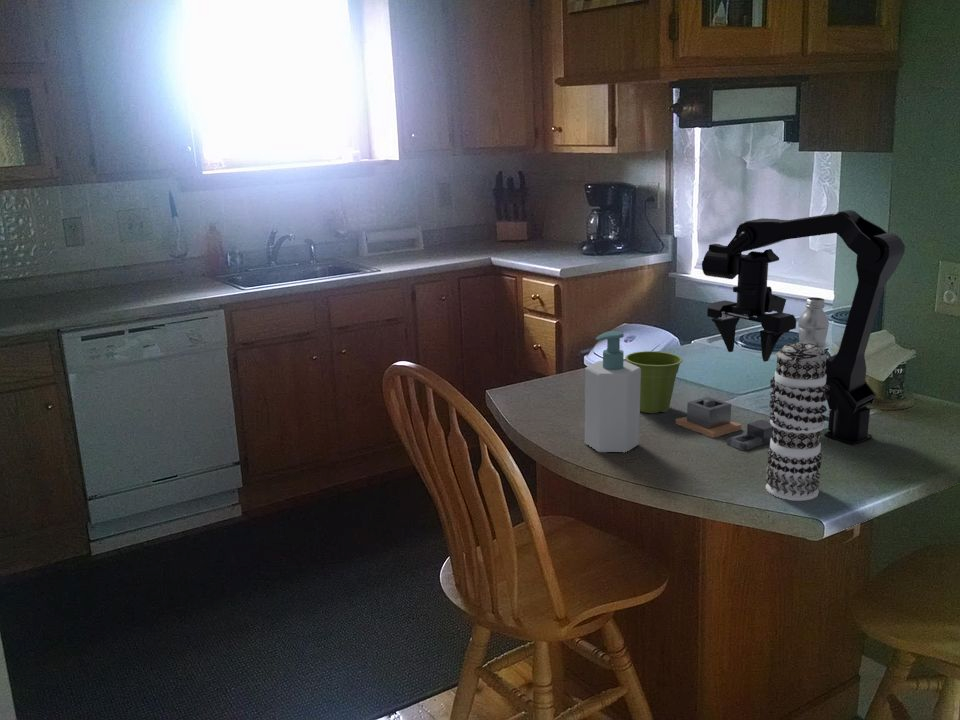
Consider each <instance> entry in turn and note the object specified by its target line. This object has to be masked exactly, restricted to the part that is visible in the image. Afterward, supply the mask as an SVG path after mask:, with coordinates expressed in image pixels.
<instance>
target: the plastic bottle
mask: <svg viewBox="0 0 960 720" xmlns="http://www.w3.org/2000/svg"><path fill="white" fill-rule="evenodd" d="M805 307H806V310H804V312H802V314H801V315H800V316H799V318H798V320H797V325H798V337H799V338H798V339H799V341H798V342H802V343H810V344H815V345H817V346H819V347H820V348H821V349H822V350H823V352H824V353H825V348H826V347H825V346H826V339H827V336H828V332H829V331H828V330H829V326H830V321H829V318H828V315H827V314H826V312H825V311H824V308H825V298H822V297H817V296H816V297H808V298H806V302H805Z"/></svg>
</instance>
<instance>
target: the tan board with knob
mask: <svg viewBox="0 0 960 720" xmlns="http://www.w3.org/2000/svg"><path fill="white" fill-rule="evenodd" d="M704 406H706V407H709V408H711V407H714V406H715V400H713V399H705V400H704ZM677 424H678V425H677ZM675 425H677V426H680V425H681V427H682V426H684V427H683V428H685V427H687V428H686V429H688V428H689V429H688V430H690V429H692V430H691V431H693V430H695V431H694V432H696V431H698V432H700V433H699V434H701V433H702V434H701V435H704V434H705V435H704V436H706V435H707V437H709V436H710V437H709V438H712V437H713V438H712V439H714V437H715V438H718V437H721V436H724V435H728V434H730V433H734V432H738V431H741V430H742V424H741V423H738V422H735V421H731V420H730V423H729V424H726V425H722V426H719V427H715V428H712V429H707V428H704V427H701V426H699V425H696V424H693V423H691V422H688V421H687V415H686V416H684V417H679V418H675ZM698 432H697V433H698ZM717 436H718V437H717Z"/></svg>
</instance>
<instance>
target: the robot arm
mask: <svg viewBox="0 0 960 720" xmlns="http://www.w3.org/2000/svg"><path fill="white" fill-rule="evenodd" d="M831 234H837V235H838V236H839V237H840V238H841V240H843V242H844V243H845V245H846V246H847V248H848V249H849V250H851V251H852V252H853V253H855V254H856V263H855V269H856V273H857V274H856V276H857V285H856V288H855V292H854V296H853V299H852V302H851V305H850V309H849V314H848V317H847V320H846V324H845V328H844V331H843V334H842V338H841V342H840V344H839V349H838V351H837V353H836V354H833V355H831V356H829V357H828V359H827V360H826V370H825V372H826V373H825V374H826V375H827V376H826V384H827V385H828V386H829V387H830V390H828V391H827V392H824V393H825V394H827V395H828V397H829V399H828V400H826V401H827V405H828V409H829V413H828V414H829V415H828V423H827V424H828V425H827V431H825V432H824V433H823V435H824V436H825V437H828V438H832V439H834V440H837V441H840V442H843V443H846V444H849V445H856V444H858V443H861V442H864V441H867V440H871V439H873V435H872V434H871V433H869V426H870V425H869V424H870V417H871V415H870V414H871V408H869V407H868V406H869V405H870V406H871V405H873V403H874V402H875V399H876V397H877V394H876V392H874V390H873V389H872V387H871V386H870V385H869V383H868V382H867V381H866V376H867V364H866V359H865V354H866V350H867V347H868V343H869V340H870V336H871V334H872V331H873V330H872V329H873V326H874V323H875V319H876V318H877V317H876V316H877V313H878V310H879V306H880V303H881V299H882V297H883V293H884V290H885V287H886V284H887V282H888V281H889V280H890V278H891V277H892V275H894V273H895V272H896V270H897V268H898V266H899V264H900V262H901V261H902V259H903V256H904V254H905V248H906V246H905V243H904V242H903V240H902V238H901V237H900V236H898V234H895V233H893V232H887V230H885V229H883V228H882V227H881V226H879V225H877V224H875V223H873V222H871V221H870V220H869V219H868V220H867V219H866V218H864V216H861V214H860V213H858V212H856V211H855V210H852V209H847V210H842V211H837V212H834V213H828V214H821V215H815V216H808V217H807V216H806V217H800V218H796V219H795V218H794V219H781V218H780V219H778V218H763V217H762V218H757V219H752V220H746V221H743V222H741V223H739V225H738V227H737V228H736V232H735V235H734V236H733V237H732V239H731V240H730V242H729V243H728V244H727V245H723V244H721V243H711V244H709V245H708V250H707V251H706V252H705V255H704V257H703V261H702V262H701V270H702V273H703V274H704V276H706V277H713V278H720V279H727V280H733V279H735V278H736V277H737V286H732V292H733V293H736V302H735V301H729V300H719V301H716V302H710V303H709V305H708V306H707V311H706V317H707V318H710V319H711V322H713V323H714V325H715V327H716V328H717V330H718V332H719V334H720V336H721V338H722V340H723V342H724V345H725V348H726V350H727V352H728V353H733V352H734V349H735V343H736V342H735V341H736V328H737V325H738V323H739V321H740V319H742V320H747V321H752V322H756V323H760V324H761V327H762V330H759V334H760V335H759V337H760V347H761V357H762V361H763V362H764V363H765V362H769V360H770V357H771V355H772V353H773V351H774V349H775V348H776V347H775V346H776V344H777V343H778V341H779V339H780V338H781V337H782V336H783V335H784V334H786V333H789V332H790V331H791V330H796V329H797V318H796V317H795V315H794V314H791V313H786V312H784V309H785V306H786V302H787V298H783V297H781V296H778V295H777V294H776V295H775V294H773V289H772V287H771V286H769V285H768V271H769V264H770V263H774V262H778V261H780V257H779V256H778V255H777V253H775V252H774V251H773V249H772V248H769V249H765V250H764V251H753V250H756V249H761V248H764V247H769V246H772V245H775V244H779V243H780V242H784V241H787V240H793V239H798V238H799V239H800V238H807V237H808V238H809V237H815V236H817V237H818V236H822V235H831ZM748 251H750V252H748ZM744 252H748V253H747V254H744ZM773 312H774V313H773ZM766 313H768V314H766Z"/></svg>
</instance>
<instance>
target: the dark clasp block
mask: <svg viewBox="0 0 960 720" xmlns="http://www.w3.org/2000/svg"><path fill="white" fill-rule="evenodd" d="M746 425H747V426H746V432H744V433H741V434H738V435H735V436H731V437H728V438H727V439H726V445H728V446H730V447H732V448H736V449H738V450H740V451H743V452H744V451H746V450H749V449H753V448H757V447H759V446H762V445H766V444H768V443H769V444H770V439H771V438H772V428H773V426H772V425H771V424H770V421H766V420H765V419H760V420H756V421H753V422H749V423H747V424H746Z"/></svg>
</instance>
